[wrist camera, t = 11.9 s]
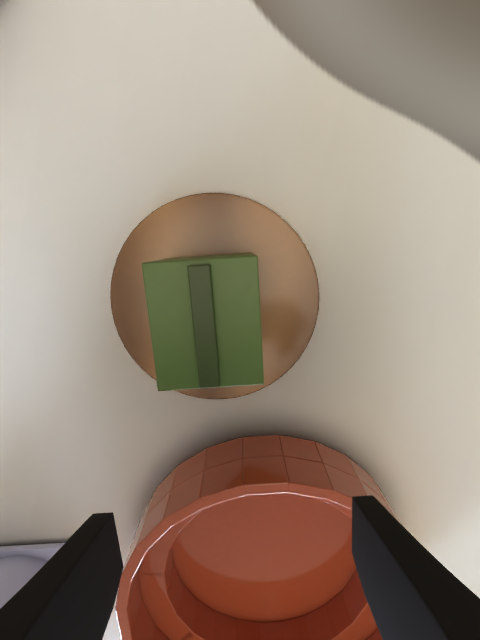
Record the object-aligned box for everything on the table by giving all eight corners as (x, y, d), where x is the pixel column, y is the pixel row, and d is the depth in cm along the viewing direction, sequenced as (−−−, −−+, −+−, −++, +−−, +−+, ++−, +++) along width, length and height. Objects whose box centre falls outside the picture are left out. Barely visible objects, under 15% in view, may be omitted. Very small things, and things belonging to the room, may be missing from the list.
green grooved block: (180, 351, 18) (155, 396, 12) (169, 257, 16) (137, 263, 11) (257, 346, 17) (265, 389, 12) (252, 252, 16) (258, 255, 11)
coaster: (129, 400, 19) (126, 405, 18) (99, 202, 16) (93, 200, 16) (317, 388, 19) (320, 393, 18) (315, 187, 16) (318, 185, 16)
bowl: (157, 640, 23) (138, 733, 19) (125, 437, 19) (91, 493, 15) (385, 627, 23) (420, 718, 18) (395, 421, 19) (442, 473, 15)
